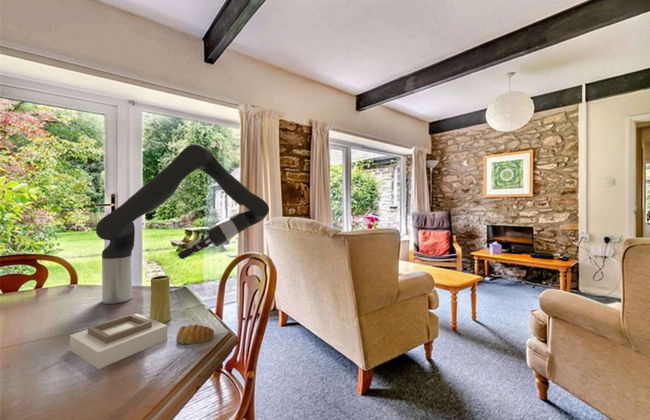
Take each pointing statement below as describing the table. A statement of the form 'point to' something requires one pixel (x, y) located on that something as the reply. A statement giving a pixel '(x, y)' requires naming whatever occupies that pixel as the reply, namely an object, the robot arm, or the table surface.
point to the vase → (160, 299)
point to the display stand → (117, 339)
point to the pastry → (194, 334)
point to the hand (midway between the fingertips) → (179, 256)
